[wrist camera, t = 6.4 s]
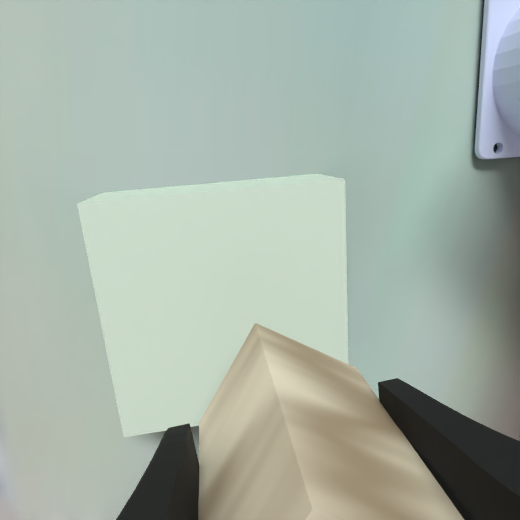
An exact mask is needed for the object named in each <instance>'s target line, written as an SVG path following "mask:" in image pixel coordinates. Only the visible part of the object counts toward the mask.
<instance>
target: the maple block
mask: <svg viewBox="0 0 520 520" xmlns="http://www.w3.org/2000/svg"><path fill="white" fill-rule="evenodd" d="M198 520H464V519H463V517H462V516H461V514H460V513H459V512H458V510H457V509H456V507H455V506H454V505H453V503H452V502H451V500H450V499H449V497H448V496H447V495H446V493H445V492H444V490H443V489H442V488H441V486H440V485H439V483H438V482H437V481H436V479H435V478H434V476H433V475H432V474H431V472H430V471H429V469H428V468H427V466H426V465H425V464H424V462H423V461H422V459H421V458H420V457H419V455H418V454H417V452H416V451H415V450H414V448H413V447H412V445H411V444H410V443H409V441H408V440H407V438H406V437H405V435H404V434H403V433H402V432H401V430H400V429H399V428H398V427H397V425H396V424H395V423H394V421H393V420H392V418H391V417H390V416H389V414H388V413H387V411H386V410H385V409H384V407H383V406H382V404H381V403H380V401H379V399H378V397H377V396H376V395H375V393H374V392H373V390H372V389H371V388H370V386H369V385H368V383H367V382H366V381H365V379H364V378H363V376H362V375H361V374H360V372H359V371H358V369H357V368H355V367H353V366H351V365H348V364H346V363H344V362H342V361H339V360H337V359H335V358H333V357H331V356H328V355H326V354H324V353H322V352H319V351H317V350H315V349H313V348H310V347H308V346H306V345H304V344H301V343H299V342H297V341H295V340H292V339H290V338H288V337H286V336H284V335H281V334H279V333H277V332H275V331H272V330H270V329H268V328H266V327H263V326H261V325H259V324H257V323H255V324H254V326H253V327H252V329H251V331H250V333H249V335H248V336H247V338H246V340H245V342H244V344H243V345H242V347H241V349H240V351H239V352H238V354H237V356H236V358H235V360H234V361H233V363H232V365H231V367H230V369H229V370H228V372H227V374H226V376H225V377H224V379H223V381H222V383H221V385H220V386H219V388H218V390H217V392H216V394H215V395H214V397H213V399H212V401H211V402H210V404H209V406H208V408H207V410H206V411H205V413H204V415H203V417H202V419H201V420H200V422H199V501H198Z"/></svg>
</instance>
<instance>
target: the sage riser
mask: <svg viewBox="0 0 520 520" xmlns="http://www.w3.org/2000/svg"><path fill="white" fill-rule="evenodd" d="M77 206H78V211H79V216H80V221H81V226H82V231H83V236H84V241H85V246H86V251H87V256H88V261H89V266H90V271H91V276H92V281H93V286H94V291H95V296H96V301H97V306H98V311H99V316H100V321H101V326H102V331H103V336H104V341H105V346H106V351H107V356H108V361H109V366H110V371H111V376H112V381H113V386H114V391H115V396H116V401H117V406H118V411H119V416H120V421H121V426H122V431H123V436H124V437H129V436H135V435H141V434H148V433H154V432H161V431H166V430H167V429H168V428H170V427H175V426H179V425H184V424H188V423H190V427H193V426H199V422H200V420H201V419H202V417H203V415H204V413H205V411H206V410H207V408H208V406H209V404H210V402H211V401H212V399H213V397H214V395H215V394H216V392H217V390H218V388H219V386H220V385H221V383H222V381H223V379H224V377H225V376H226V374H227V372H228V370H229V369H230V367H231V365H232V363H233V361H234V360H235V358H236V356H237V354H238V352H239V351H240V349H241V347H242V345H243V344H244V342H245V340H246V338H247V336H248V335H249V333H250V331H251V329H252V327H253V326H254V324H255V323H257V324H259V325H261V326H263V327H266V328H268V329H270V330H272V331H275V332H277V333H279V334H281V335H284V336H286V337H288V338H290V339H292V340H295V341H297V342H299V343H301V344H304V345H306V346H308V347H310V348H313V349H315V350H317V351H319V352H322V353H324V354H326V355H328V356H331V357H333V358H335V359H337V360H339V361H342V362H344V363H346V364H348V315H347V261H346V207H345V179H341V178H336V177H331V176H326V175H321V174H307V175H296V176H285V177H274V178H262V179H251V180H240V181H228V182H217V183H206V184H195V185H183V186H172V187H161V188H149V189H138V190H127V191H115V192H104V193H101V194H99V195H96V196H94V197H92V198H89V199H87V200H85V201H82V202H80V203H78V204H77Z"/></svg>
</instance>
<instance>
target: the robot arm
mask: <svg viewBox="0 0 520 520" xmlns="http://www.w3.org/2000/svg"><path fill="white" fill-rule="evenodd" d="M495 144H497V147H498V148H497V151H496V152H494V151H493V147H494V145H495ZM475 154H476V156H477V157H478V158H479V159H498V158H509V157H520V0H485V2H484V17H483V32H482V47H481V62H480V77H479V92H478V107H477V122H476V138H475ZM378 387H379V401H380V403H381V404H382V406H383V407H384V409H385V410H386V411H387V413H388V414H389V416H390V417H391V418H392V420H393V421H394V423H395V424H396V425H397V427H398V428H399V429H400V430H401V432H402V433H403V434H404V435H405V437H406V438H407V440H408V441H409V443H410V444H411V445H412V447H413V448H414V450H415V451H416V452H417V454H418V455H419V457H420V458H421V459H422V461H423V462H424V464H425V465H426V466H427V468H428V469H429V471H430V472H431V474H432V475H433V476H434V478H435V479H436V481H437V482H438V483H439V485H440V486H441V488H442V489H443V490H444V492H445V493H446V495H447V496H448V497H449V499H450V500H451V502H452V503H453V505H454V506H455V507H456V509H457V510H458V512H459V513H460V514H461V516H462V517H463V519H464V520H520V441H518V440H515V439H513V438H510V437H508V436H506V435H503V434H501V433H499V432H497V431H495V430H493V429H490V428H488V427H486V426H484V425H482V424H480V423H478V422H476V421H474V420H472V419H470V418H468V417H466V416H464V415H462V414H460V413H459V412H457V411H455V410H453V409H451V408H449V407H447V406H446V405H444V404H442V403H440V402H438V401H437V400H435V399H433V398H431V397H430V396H428V395H426V394H424V393H423V392H421V391H419V390H418V389H416V388H414V387H412V386H411V385H409V384H407V383H405V382H403V381H402V380H400V379H398V378H396V379H392V380H387V381H382V382H378ZM198 501H199V462H198V458H197V453H196V449H195V445H194V440H193V436H192V432H191V428H190V423H188V424H184V425H179V426H175V427H170V428H168V429H167V430H166V432H165V434H164V436H163V438H162V440H161V442H160V444H159V446H158V448H157V450H156V452H155V454H154V456H153V458H152V460H151V462H150V464H149V466H148V467H147V469H146V471H145V473H144V475H143V476H142V478H141V480H140V482H139V484H138V485H137V487H136V489H135V490H134V492H133V494H132V495H131V497H130V499H129V500H128V502H127V503H126V505H125V506H124V508H123V510H122V511H121V513H120V514H119V516H118V518H117V519H116V520H198Z"/></svg>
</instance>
